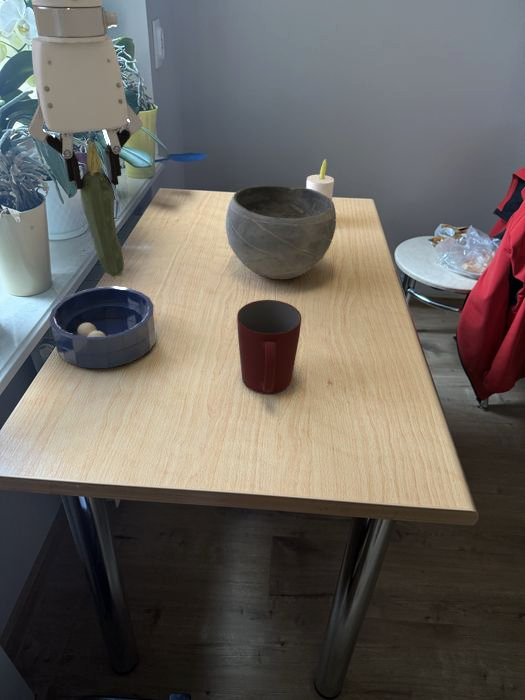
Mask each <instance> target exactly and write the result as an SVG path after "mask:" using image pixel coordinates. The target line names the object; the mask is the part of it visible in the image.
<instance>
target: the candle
mask: <svg viewBox="0 0 525 700" xmlns="http://www.w3.org/2000/svg"><path fill="white" fill-rule="evenodd" d="M326 173H327V159H326V158H324V160H323V161H322V164H321V167H320V170H319V174H312V175H309V176H307V177H306V187H305V188H308V189H312V190H315V191H318V192H320V193H321V194H323V195H325V196H327V197H328V198H330V199H331V200H332V201H333V196H334V195H333V194H334V187H335V186H334V185H335V179H334V178H333V177H332V176H330V175H326Z"/></svg>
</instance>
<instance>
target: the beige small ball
mask: <svg viewBox="0 0 525 700" xmlns="http://www.w3.org/2000/svg"><path fill="white" fill-rule="evenodd" d="M93 331H97V330H96V327H95V326H94V325H93V324H91V323H83V324H81V325H80V326H79V327H78V329H77V335H78V336H85V337H87V336H88V335H89V334H90V333H91V332H93Z"/></svg>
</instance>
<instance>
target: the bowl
mask: <svg viewBox="0 0 525 700" xmlns="http://www.w3.org/2000/svg"><path fill="white" fill-rule="evenodd" d="M336 220H337V212H336V206H335V204H334V201H333V199H332V200H331V199H330V198H328V197H327V196H325V195H323V194H321V193H320V192H318V191H315V190H312V189H308V188H306V187H303V186H293V185H282V184H280V185H278V184H262V185H254V186H248V187H244V188H243V187H242V188H241V189H239V190H237V191H236V192H234V194H233V195H232V196H231V199H230V202H229V203H228V206H227V211H226V216H225V233H226V237H227V242H228V244H229V246H230V247H229V248H230V249H231V250H232V252H233V253H234V256H236V258H237V260H239V261H240V262H241V263H242V264H243V266H245V267H246V268H247V269H248V270H251V271H252V272H253V273H256V274H258V275H259V276H263V277H265V278H268V279H270V280H271V279H272V280H290V279H295V278H297V277H299V276H302V275H304V274H306V273H307V272H309V271H311V270H312V269H313V268H314V267H315V266H316V265H318V263H320V261H321V260H322V259H323V258H324V257H325V255H326V253H327V252H328V251H329V248H330V246H331V245H332V242H333V239H334V236H335V231H336V226H337V221H336Z"/></svg>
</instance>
